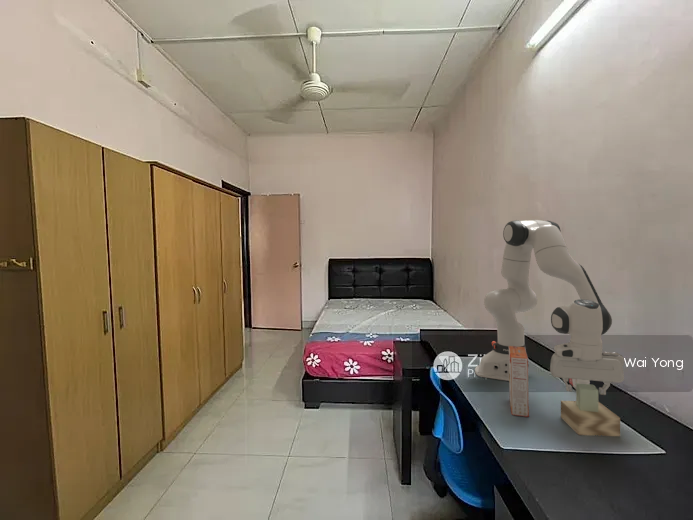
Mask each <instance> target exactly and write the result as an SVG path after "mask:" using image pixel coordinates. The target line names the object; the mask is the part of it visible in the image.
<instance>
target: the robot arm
mask: <svg viewBox="0 0 693 520" xmlns="http://www.w3.org/2000/svg"><path fill="white" fill-rule="evenodd" d="M502 236H503V239H504V242H505V246H504V249H503V254H502V261H501V269H500V274H501V276H502V277H503V279H505V280H506V282H507V288H504V289H503V288H501V289H495V290H493V291H492V290H491V291H489V292H487V293H486V295H485V296H484V298H483V305H484V307H485V309H486V310H487V312H488V313H490V314H491V315H492V317H493V318H494V321H495V324H496V331H497V341H495V340H493V341H492V342H491V346H492V350H491V351H489V352H487V353H486V354H485V355H483V356H482V357H481V359H480V362H479V364H478V365H477V366H476V367H475V368H474V373H475V375H476V376H478V377H481V378H487V379H494V380H499V381H508V382H509V346H516V347H525V350H526V349H527V347H526V344H525V327H524V325H523V324H522V323H521V322H518V320H517V317H516V314H517V313H524V312H525V313H526V312H528V311H530V310H533V309H534V308H536V306H537V304H538V296H537V294H536V292H535V291H534V290H533V289H532V287H531V285H530V279H529V277H530V265H531V259H532V251H533V253H534V256H535V261H536V265H537V267H538V268H539V269H540V271H542V273H544V274H546V275H548V276H550V277H552V278H553V277H554V278H556V279H560V280H563V281H565V282H567V283H569V284H570V285H572V286H573V287H574V289H575V290H576V292H577V295H578V296H579V299H575V300H572V302H571V303H570V304H568V305H564V306H558V307H556V308H555V309H553V311H552V313H551V314H550V315H551V316H550V324H551V326H552V328H553V329H554V330H555V331H556V332H557V333H558V334H561V335H562V334H563V335H569V336H570V339H569V341H568V342H565V343H561V344H556V345H555V346H554V347H553V348H554V353H553V354H552V356H551V357H550V358H551V359H550V364H549V365H550V367H549V371H550V374H551V376H553V377H554V378H561V380H562V382H563V383H564V384H565V390H566V392H571V393H572V392H573V386H572V385H571V384H568V382H569V378H570V379H582V380H590V381H595V382H603V383H604V384H603V385H602V387H598V394H599V395H603V396H606V395H607V390H608V389H609V387H610V386H611V383H617V384H620V383H621V384H622V382H624V381H625V374H624V368H623V366H624V364H625V357H624V356H623V355H622V354H620V353H618V352H609V351H603V340H602V335H604V334H606V333H607V332H608V331H609V330H610V328H611V327H612V323H613V319H612V316H611V313H610V312H609V311H608V308H606V306H605V305H604V303H603V302H602V301H601V298H600V296H599V295H598V292H597V290H596V288H595V286H594V284H593V282H592V280H591V279H590V276H589V275H588V273H587V271H586V270H585V268H584V266H582V265H581V264H580V263H578V262H577V261H576V260H575V259H574V258H573V257H572V255H571V254H570V251H569V249H568V245H567V243H566V240H565V239H564V236H563V234H562V231H561V226H560V225H559V224H558V223H556V222H554V221H551V220H541V219H530V220H529V219H527V220H525V219H523V220H517V219H516V220H511V221H508V222H507V223H506V224H505V226H504V228H503V232H502ZM526 351H527V350H526ZM528 377H529V374H528Z"/></svg>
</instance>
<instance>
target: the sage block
mask: <svg viewBox="0 0 693 520" xmlns="http://www.w3.org/2000/svg"><path fill="white" fill-rule="evenodd" d="M575 401H576V404H577V406H578V408H579V409H580V410H582V411H591V412H598V402H599V388H597V387H596V386H595V385H594V384H579V383H576V389H575Z"/></svg>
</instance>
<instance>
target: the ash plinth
mask: <svg viewBox="0 0 693 520" xmlns="http://www.w3.org/2000/svg"><path fill="white" fill-rule="evenodd" d="M560 418H561V419H562V420H563V421H564V422H565V423H566V424H567V425H568V426H569V427H570V428H571V429H572V430H573V431H574V432H575V433H576V434H577V435H578V436H595V435H596V436H597V435H598V436H597V437H599V436H601V435H602V436H603V437H621V417H620V416H618V415H617V414H616V413H615V412H613V411H611V410H610V409H609V408H607V406H605V405H604V404H603V403H601V402H600V401H598V412H591V411H582V410H580V409H579V408H578V406H577V404H576V400H560ZM596 436H595V437H596Z"/></svg>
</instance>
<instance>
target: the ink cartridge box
mask: <svg viewBox="0 0 693 520" xmlns="http://www.w3.org/2000/svg"><path fill="white" fill-rule="evenodd" d="M590 381H591V380H582V379H570V378H568V382H569V385H571V386H572V388H574V390H576V383H579V384H590V383H591V382H590ZM590 385H591V384H590Z"/></svg>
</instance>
